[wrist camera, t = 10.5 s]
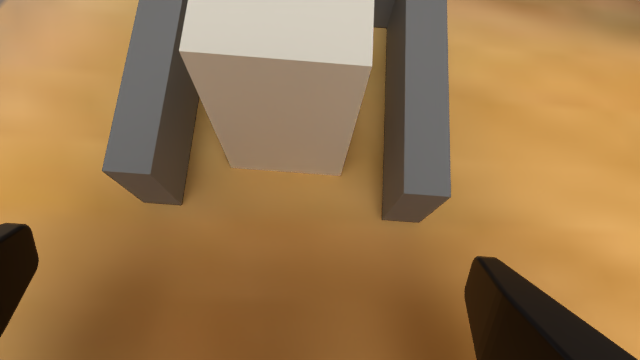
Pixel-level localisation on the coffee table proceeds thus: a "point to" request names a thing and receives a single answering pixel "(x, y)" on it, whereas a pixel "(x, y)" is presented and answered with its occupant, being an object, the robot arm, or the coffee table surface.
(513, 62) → the coffee table surface
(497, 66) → the coffee table surface
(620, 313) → the coffee table surface
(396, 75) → the frame
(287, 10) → the white rectangular block
